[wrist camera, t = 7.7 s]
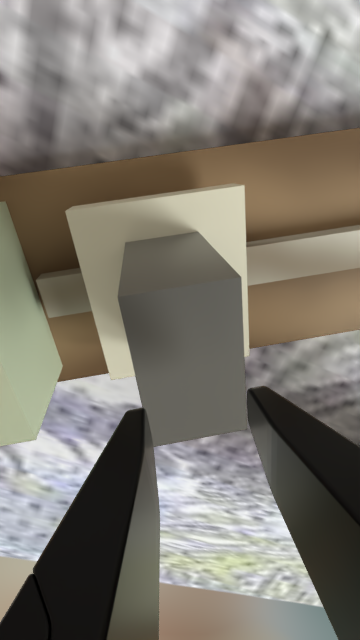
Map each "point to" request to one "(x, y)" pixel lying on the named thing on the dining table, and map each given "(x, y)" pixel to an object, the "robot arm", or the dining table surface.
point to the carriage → (172, 303)
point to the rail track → (261, 234)
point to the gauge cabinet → (22, 344)
